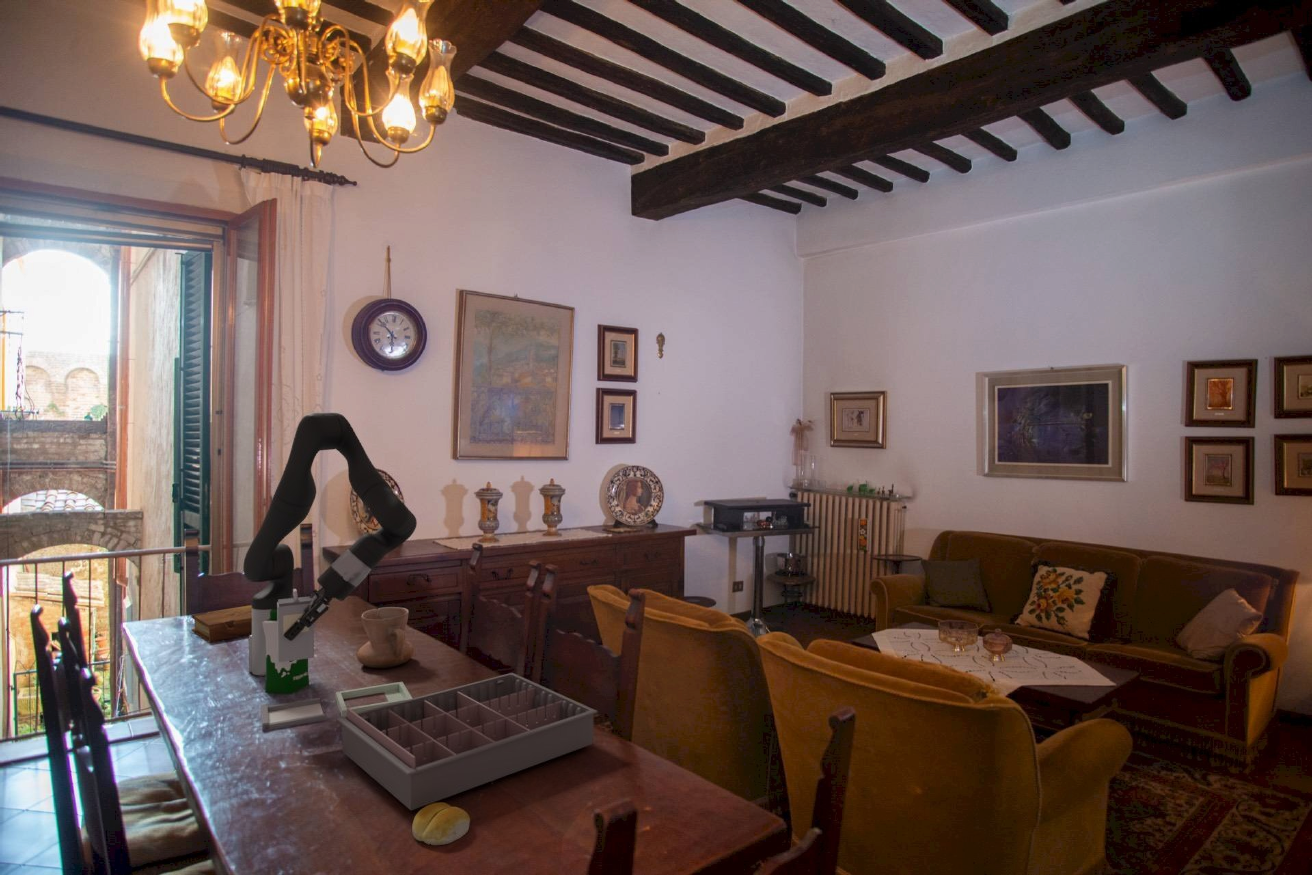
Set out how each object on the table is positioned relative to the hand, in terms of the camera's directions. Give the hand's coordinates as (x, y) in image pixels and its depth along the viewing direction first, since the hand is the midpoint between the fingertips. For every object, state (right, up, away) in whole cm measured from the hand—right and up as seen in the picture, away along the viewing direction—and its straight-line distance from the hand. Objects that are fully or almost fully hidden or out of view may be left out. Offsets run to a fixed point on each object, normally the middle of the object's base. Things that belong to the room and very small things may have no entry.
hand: (286, 634), depth 164 cm
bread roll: (+47, -20, -44) cm, 67 cm away
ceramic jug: (+8, -19, +39) cm, 44 cm away
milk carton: (-9, -19, +18) cm, 28 cm away
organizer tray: (+44, -20, -16) cm, 51 cm away
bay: (+1, -19, +1) cm, 19 cm away
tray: (+16, -19, +9) cm, 26 cm away
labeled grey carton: (+2, -5, +1) cm, 5 cm away
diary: (-51, -18, +74) cm, 92 cm away
